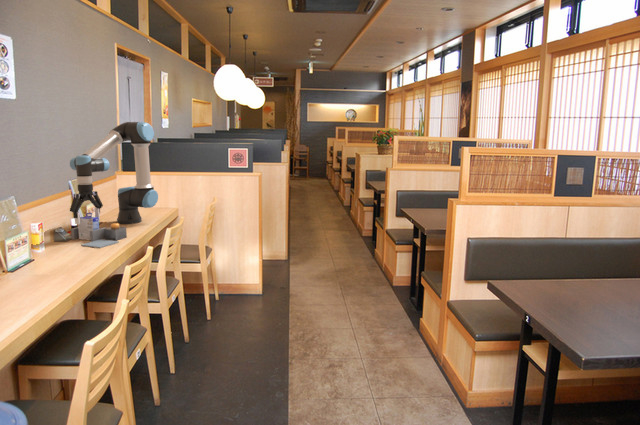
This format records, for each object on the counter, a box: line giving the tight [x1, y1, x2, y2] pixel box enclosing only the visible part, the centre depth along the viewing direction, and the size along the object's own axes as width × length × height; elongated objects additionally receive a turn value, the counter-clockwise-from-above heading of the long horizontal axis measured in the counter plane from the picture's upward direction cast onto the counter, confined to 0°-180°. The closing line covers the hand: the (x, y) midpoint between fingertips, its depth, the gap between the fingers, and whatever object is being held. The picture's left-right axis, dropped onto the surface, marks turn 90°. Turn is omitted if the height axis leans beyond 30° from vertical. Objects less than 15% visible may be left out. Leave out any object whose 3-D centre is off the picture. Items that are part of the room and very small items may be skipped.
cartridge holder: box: [70, 226, 107, 242], centre depth 263 cm, size 10×16×6 cm, turn 69°
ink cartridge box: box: [77, 212, 100, 241], centre depth 262 cm, size 10×6×14 cm, turn 78°
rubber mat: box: [80, 239, 120, 249], centre depth 251 cm, size 13×13×1 cm
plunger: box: [110, 222, 120, 229], centre depth 263 cm, size 4×4×6 cm
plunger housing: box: [104, 226, 128, 241], centre depth 263 cm, size 8×8×6 cm
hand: (87, 221), depth 261 cm, fingers open, 13 cm apart
